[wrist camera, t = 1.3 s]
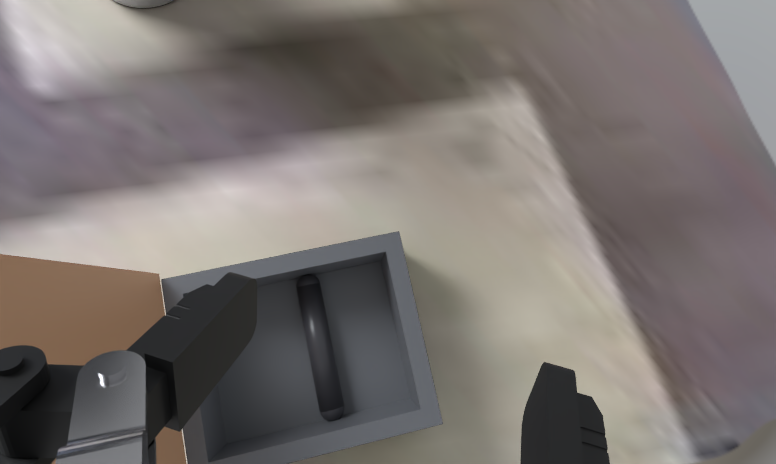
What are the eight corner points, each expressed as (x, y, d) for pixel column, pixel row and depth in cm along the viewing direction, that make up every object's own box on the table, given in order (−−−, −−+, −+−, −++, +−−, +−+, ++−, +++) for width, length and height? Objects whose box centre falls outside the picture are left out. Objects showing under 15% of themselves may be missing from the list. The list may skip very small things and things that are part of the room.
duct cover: (158, 273, 33) (144, 277, 33) (-108, 240, 16) (-136, 247, 16) (190, 495, 30) (175, 498, 30) (-82, 709, 14) (-115, 716, 14)
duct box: (189, 286, 38) (161, 279, 32) (390, 245, 40) (399, 231, 34) (215, 461, 36) (191, 488, 30) (427, 408, 38) (442, 423, 32)
